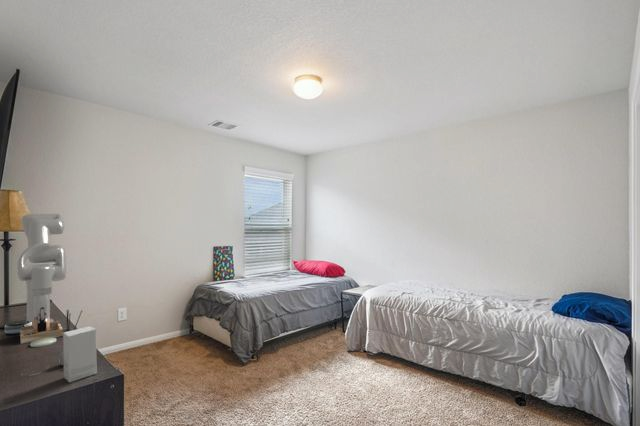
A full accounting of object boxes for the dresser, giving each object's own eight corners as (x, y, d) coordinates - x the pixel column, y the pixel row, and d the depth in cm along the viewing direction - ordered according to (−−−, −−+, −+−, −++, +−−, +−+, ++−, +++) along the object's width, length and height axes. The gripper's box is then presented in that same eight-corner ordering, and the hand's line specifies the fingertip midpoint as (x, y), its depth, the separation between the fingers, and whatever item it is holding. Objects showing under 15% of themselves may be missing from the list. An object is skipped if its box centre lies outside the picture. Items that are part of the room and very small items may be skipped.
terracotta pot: (32, 334, 160) (33, 310, 160) (49, 331, 164) (49, 308, 164) (33, 337, 156) (33, 313, 156) (50, 334, 160) (50, 310, 160)
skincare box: (91, 369, 119) (91, 325, 120) (97, 374, 115) (97, 328, 116) (62, 378, 113) (62, 331, 113) (68, 383, 109) (68, 335, 109)
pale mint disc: (29, 343, 149) (29, 341, 149) (55, 338, 155) (55, 336, 155) (30, 348, 142) (30, 346, 142) (57, 343, 148) (57, 341, 148)
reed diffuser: (57, 363, 126) (57, 309, 127) (80, 357, 131) (80, 306, 131) (60, 371, 118) (60, 314, 119) (84, 365, 123) (84, 310, 124)
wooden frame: (20, 335, 160) (20, 327, 160) (59, 328, 170) (59, 320, 171) (20, 344, 148) (20, 334, 149) (63, 335, 159) (63, 327, 159)
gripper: (30, 290, 164) (30, 327, 164) (32, 295, 151) (31, 335, 151) (50, 288, 169) (50, 323, 169) (53, 293, 156) (53, 331, 156)
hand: (41, 329), depth 160 cm, fingers closed on terracotta pot, 6 cm apart
